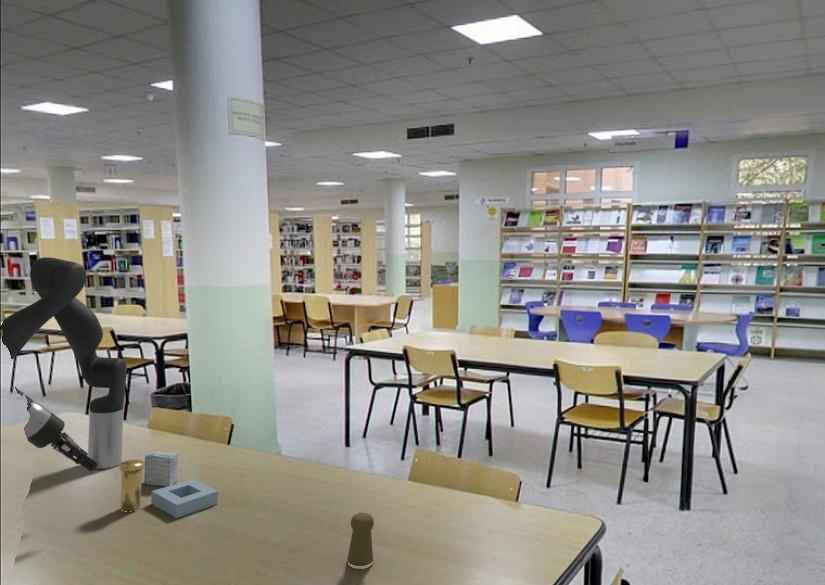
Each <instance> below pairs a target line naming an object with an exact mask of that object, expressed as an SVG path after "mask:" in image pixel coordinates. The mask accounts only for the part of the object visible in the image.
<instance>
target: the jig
mask: <svg viewBox="0 0 825 585" xmlns="http://www.w3.org/2000/svg"><path fill="white" fill-rule="evenodd" d="M150 498H151V501H150V504H151V503H152V504H154V505H155V506H157V507H159V508H160V509H159V508H158V509H159V510H161V509H162V510H161V511H162V512H164V511H165V512H164V513H166V512H167V513H166V514H168V515H169V516H172V517H174V519H175V518H176V519H179V518H181V517H185V516H186V515H187V516H188V515H190V514H192V513H196V512H198V511H201V510H204V509H207V508H210V507H213V506H215V505H218V500H219V491H218V490H217V489H214V488H212V487H211V486H208V485H206V484H204V483H202V482H199V480H195V479H193V478H192V479H188V480H185V481H181V482H178V483H177V482H176V483H174V484H173V485H171V486H163V487H162V488H158V489H154V490H152V491H151V497H150ZM152 504H151V505H152ZM154 505H153V506H154ZM155 506H154V507H155ZM157 507H156V508H157Z"/></svg>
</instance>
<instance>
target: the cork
mask: <svg viewBox="0 0 825 585" xmlns="http://www.w3.org/2000/svg"><path fill="white" fill-rule="evenodd" d="M351 517H352V518H351V519H350V520H351V521H350V526H351V529H352V531H351V532H352V534H351V538H350V543H349V549H348V554H347V559H346V561H347V560H348V562H349V563H350V564H352V565H355V566H365V565H368V564H370V563H371V562H372V561H373V562H374V554H373V553H374V552H373V540H372V530H373V527H374V525H375V521H374V520H375V519H374V517H373V516H372V515H371V514H370V513H368V512H357V513H355V514H354V515H353V516H351Z"/></svg>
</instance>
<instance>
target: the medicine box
mask: <svg viewBox="0 0 825 585" xmlns="http://www.w3.org/2000/svg"><path fill="white" fill-rule="evenodd" d="M178 458H179V453H177V452H170V451H168V452H167V451H158V450H153V451H151V452H149V453H147V454H146V455H145V456H144V462H145V466H144V476H143V477H144V479H143V482H144V483H143V484H144V485H145V484H147V485H148V486H159V487H167V486H171V485H174V484H176V483H177V482H178V466H179V465H178V463H179V462H178V460H179V459H178Z"/></svg>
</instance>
